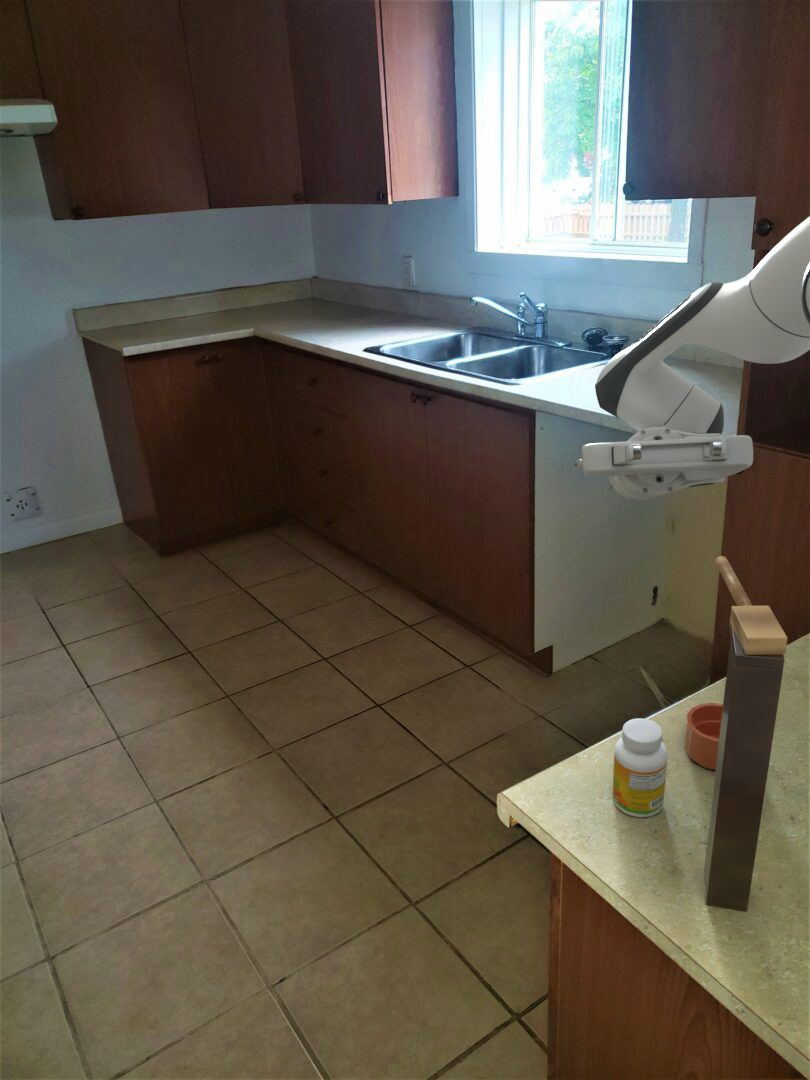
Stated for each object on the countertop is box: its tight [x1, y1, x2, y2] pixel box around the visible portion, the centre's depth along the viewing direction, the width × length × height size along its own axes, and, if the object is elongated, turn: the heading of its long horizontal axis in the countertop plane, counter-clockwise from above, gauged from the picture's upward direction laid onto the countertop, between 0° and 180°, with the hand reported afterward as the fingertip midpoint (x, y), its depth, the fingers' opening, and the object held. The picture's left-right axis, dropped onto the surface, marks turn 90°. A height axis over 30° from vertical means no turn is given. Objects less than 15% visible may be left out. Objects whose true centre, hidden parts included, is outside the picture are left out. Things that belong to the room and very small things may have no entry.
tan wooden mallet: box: [714, 555, 788, 656], centre depth 70 cm, size 15×3×2 cm, turn 174°
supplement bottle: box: [612, 717, 668, 818], centre depth 87 cm, size 5×5×10 cm
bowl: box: [683, 702, 723, 771], centre depth 94 cm, size 7×7×4 cm
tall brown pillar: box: [703, 621, 785, 913], centre depth 73 cm, size 4×6×28 cm, turn 164°
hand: (677, 448), depth 94 cm, fingers open, 8 cm apart
